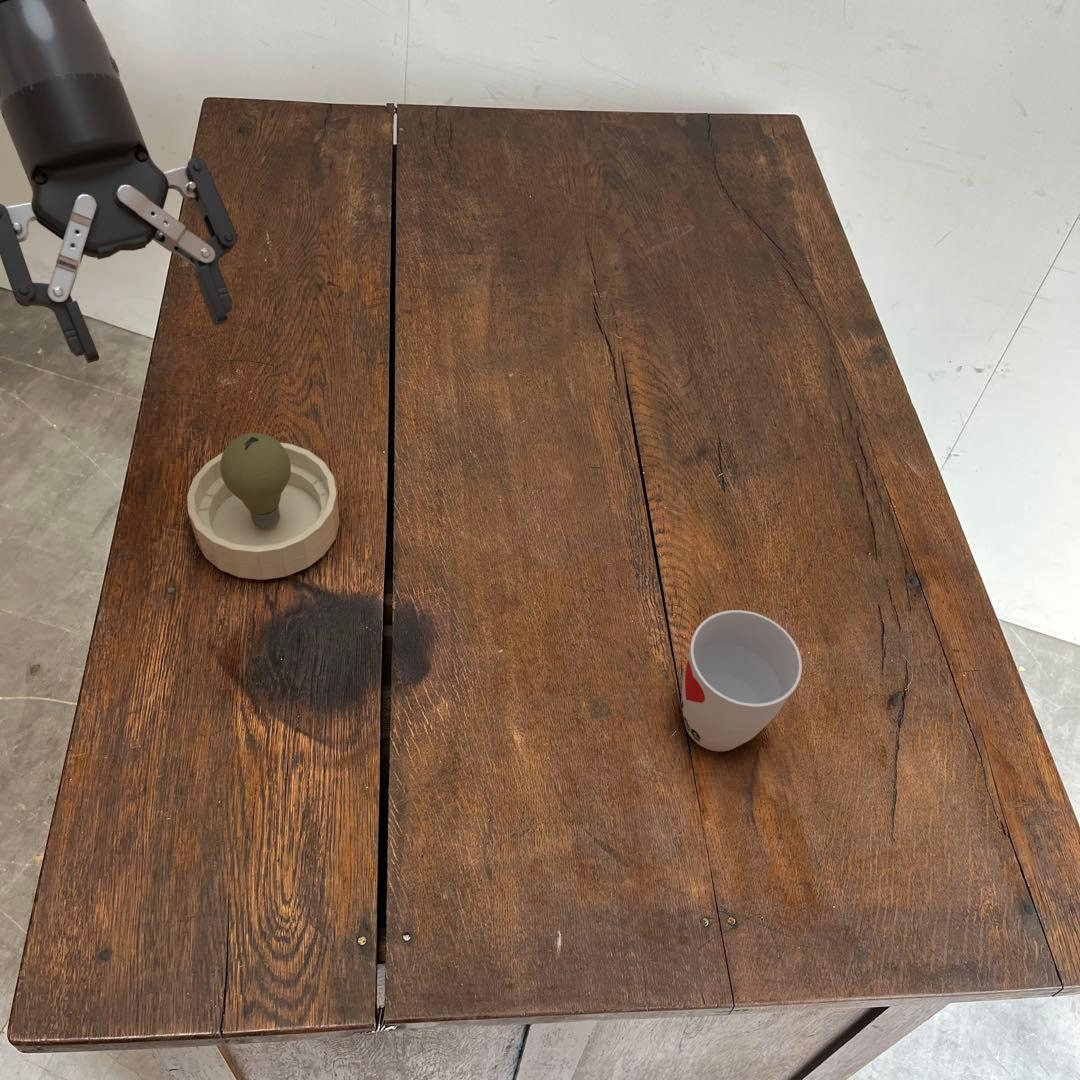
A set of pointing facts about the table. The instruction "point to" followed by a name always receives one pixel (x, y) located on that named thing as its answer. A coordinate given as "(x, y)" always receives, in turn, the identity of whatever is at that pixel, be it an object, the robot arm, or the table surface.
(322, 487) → the bowl
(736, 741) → the cup
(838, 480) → the table surface
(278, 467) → the light bulb
